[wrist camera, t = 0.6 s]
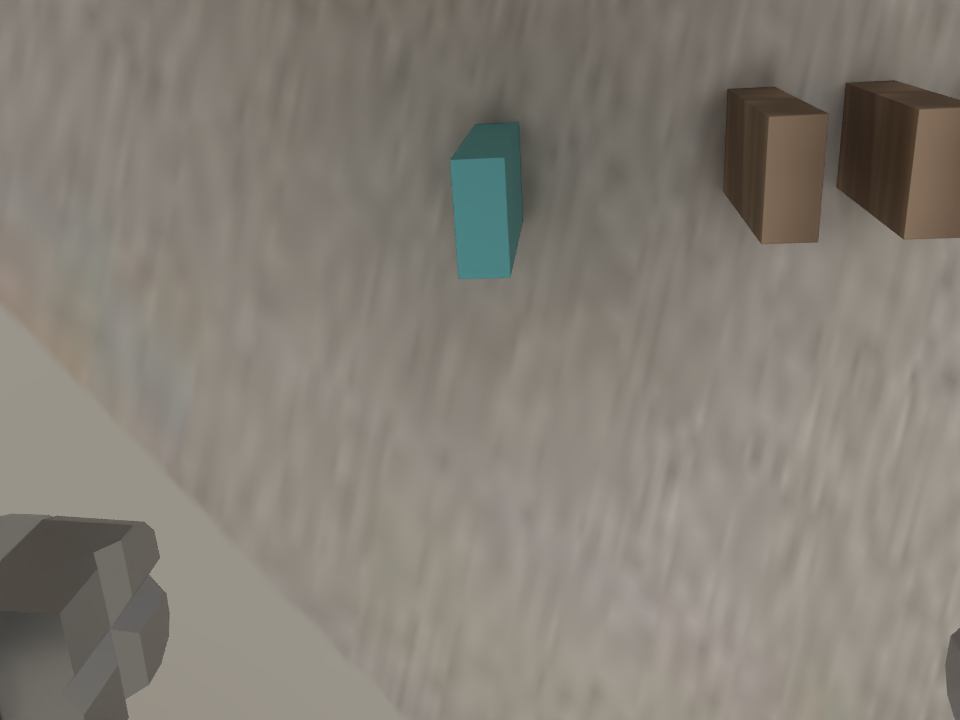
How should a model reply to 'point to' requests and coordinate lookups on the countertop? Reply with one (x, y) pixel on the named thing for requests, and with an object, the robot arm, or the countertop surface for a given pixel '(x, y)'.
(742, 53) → the countertop surface
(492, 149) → the domino
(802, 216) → the domino
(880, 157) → the domino
